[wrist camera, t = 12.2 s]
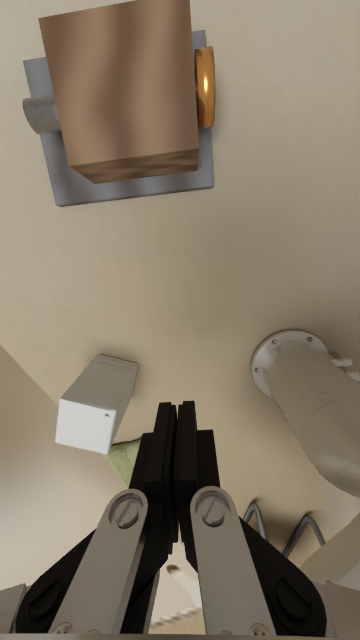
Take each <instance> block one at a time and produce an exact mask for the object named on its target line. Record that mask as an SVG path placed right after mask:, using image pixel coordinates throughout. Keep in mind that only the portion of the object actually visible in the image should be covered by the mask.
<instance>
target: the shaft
mask: <svg viewBox="0 0 360 640" xmlns="http://www.w3.org/2000/svg"><path fill="white" fill-rule="evenodd" d="M194 77H195V92H196V107H197V122H198V129H199V128H206V127H213V124H214V115H215V65H214V53H213V47H212V46H210V47H204V48H198V49H195V52H194ZM23 109H24V113H25V116H26V118H27V120H28V122H29V124H30V126H31V127H32V129H33V130H34V131H35V132H36V133H37V134H45V133H51V132H58V131H61V126H60V121H59V116H58V111H57V106H56V102H55V97H54V94H51V95H45V96H38V97H32V98H26V99H23Z"/></svg>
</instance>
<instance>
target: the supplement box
mask: <svg viewBox="0 0 360 640" xmlns="http://www.w3.org/2000/svg"><path fill="white" fill-rule="evenodd" d="M137 369H138V364H136V363H133V362H129V361H125V360H121V359H117V358H113V357H109V356H105V355H100V354H99V355H98V356H97V357H96V358H95V359H94V360H93V361H92V362H91V363H90V365H89V366H88V367H87V368H86V369H85V370H84V372H83V373H82V374H81V375H80V376H79V377H78V378H77V380H76V381H75V382H74V383H73V384H72V385H71V387H70V388H69V389H68V390H67V391H66V392H65V393H64V394H63V396H62V397H61V398H60V400H59V409H58V419H57V428H56V436H55V443H60V444H64V445H68V446H72V447H76V448H81V449H86V450H90V451H94V452H98V453H102V454H106V455H107V454H108V452H109V450H110V448H111V445H112V443H113V441H114V438H115V436H116V433H117V431H118V428H119V426H120V423H121V421H122V418H123V416H124V413H125V411H126V408H127V406H128V404H129V401H130V399H131V396H132V392H133V388H134V383H135V378H136V374H137Z"/></svg>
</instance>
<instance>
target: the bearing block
mask: <svg viewBox="0 0 360 640" xmlns="http://www.w3.org/2000/svg"><path fill="white" fill-rule="evenodd" d="M38 19H39V24H40V29H41V34H42V38H43V43H44V48H45V53H46V57H42V58H36V59H31V60H25V61H23V63H24V67H25V72H26V76H27V81H28V85H29V89H30V94H31V98H32V97H38V96H45V95H51V94H54V97H55V102H56V106H57V111H58V116H59V121H60V126H61V131H58V132H51V133H45V134H40V137H41V142H42V146H43V151H44V155H45V159H46V164H47V168H48V172H49V177H50V181H51V186H52V190H53V194H54V199H55V203H56V205H57V206H60V207H64V206H72V205H80V204H88V203H96V202H104V201H112V200H120V199H129V198H137V197H145V196H153V195H161V194H169V193H177V192H185V191H193V190H202V189H210V188H213V169H212V151H211V132H210V127H206V128H199V129H198V122H197V107H196V92H195V77H194V52H195V49H198V48H204V47H206V39H205V30H201V31H195V32H192V31H191V16H190V1H189V0H136V1H131V2H125V3H120V4H114V5H109V6H103V7H98V8H92V9H87V10H81V11H76V12H70V13H65V14H59V15H54V16H48V17H43V18H38Z"/></svg>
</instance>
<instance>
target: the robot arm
mask: <svg viewBox="0 0 360 640" xmlns="http://www.w3.org/2000/svg"><path fill="white" fill-rule="evenodd" d="M272 340H273V341H272ZM352 364H353V363H352V360H351V359H350V358H340V359H335V358H333V357H332V356H330V355H329V352H328V350H327V348H326V346H325V344H324V343H323V342H322V341H321V340H320V339H318V338H317V337H315V336H314V335H312V334H310V333H308V332H305V331H301V330H285V331H281V332H278V333H276V334H273V335H271V336H270V337H268V338H267V339H265V340H264V341H263V342H262V343H261V344H260V345H259V346H258V348H257V349H256V350H255V352H254V355H253V357H252V361H251V374H252V377H253V380H254V382H255V384H256V385H257V387H258V388H259V389H260V390H261V391H262V392H263V393H264V394H266V395H268V396H269V397H272V398H275V400H276V402H277V404H278V405H279V407H280V409H281V411H282V412H283V414H284V416H285V418H286V419H287V421H288V423H289V425H290V426H291V428H292V430H293V432H294V433H295V435H296V437H297V439H298V440H299V442H300V444H301V446H302V447H303V449H304V451H305V452H306V454H307V456H308V457H309V459H310V461H311V462H312V464H313V465H314V467H315V468H316V469H317V471H318V472H319V473H320V474H321V475H322V476H323V477H324V478H325V479H326V480H327V481H329V482H330V483H331V484H333V485H334V486H336V487H337V488H339V489H341V490H343V491H345V492H347V493H349V494H351V495H353V496H355V497H358V498H360V384H359V383H358V382H359V381H360V375H359V373H358V372H357V371H356V370H344V371H343V370H341V369H340V368H339V367H351V366H352ZM255 368H256V369H255ZM179 525H180V532H181V539H182V542H184V545H185V552H186V559H187V560H188V562H189V563H190V564H191V566H192V567H193V568H194V569H195V571H196V572H197V573H198V578H199V586H200V593H201V601H202V608H203V615H204V623H205V630H206V635H191V634H148V631H149V626H150V621H151V616H152V611H153V606H154V601H155V596H156V591H157V586H158V582H159V575H160V568H161V567H162V566H163V564H164V563H165V562H166V561H167V559H168V554H172V547H173V543H176V542H178V531H179ZM0 640H360V513H359V514H358V515H357V516H356V517H355V518H354V519H352V521H351V523H349V524H348V525H347V526H346V527H345V528H343V529H342V530H341V531H340V532H338V533H337V534H336V535H335V536H334V537H332V538H331V539H330V540H329V541H327V542H326V543H325V544H324V545H323V546H321V547H320V548H319V549H318V550H317V551H316V552H315V553H313V554H312V555H311V556H310V557H309V558H308V559H307V560H306V561H305V562H304V563H303V564H302V566H301V567H300V568H299V569H298V568H297V567H296V566H295V565H294V564H293V563H292V562H290V561H289V560H288V559H287V558H286V557H285V556H284V555H283V554H281V553H280V552H279V551H278V550H277V549H276V548H275V547H273V546H272V545H271V544H270V543H269V542H268V541H267V540H266V539H264V538H263V537H262V536H261V535H260V534H259V533H258V532H256V531H255V530H254V529H253V528H252V527H251V526H250V525H248V524H247V523H246V522H245V521H244V520H243V519H242V518H241V517H239V516H238V514H237V511H236V507H235V504H234V502H233V500H232V498H231V496H230V495H229V494H228V493H227V492H226V491H225V490H223V489H221V488H220V481H219V473H218V466H217V458H216V450H215V442H214V434H213V430H197V423H196V412H195V402H194V401H183V405H179V407H178V420H177V412H176V405H172V404H171V402H163V403H159V407H158V412H157V417H156V422H155V427H154V432H153V433H143V435H142V438H141V442H140V446H139V449H138V453H137V457H136V461H135V465H134V469H133V472H132V476H131V480H130V484H129V488H128V489H127V490H124V491H121V492H120V493H118V494H117V495H115V496H114V497H113V498H112V499H111V500H110V502H109V504H108V505H107V507H106V509H105V511H104V513H103V515H102V517H101V520H100V522H99V524H98V526H97V528H96V529H95V530H94V531H93V532H91V533H90V534H89V535H88V536H87V537H86V538H84V539H83V540H82V541H81V542H80V543H79V544H77V545H76V546H75V547H74V548H73V549H72V550H70V551H69V552H68V553H67V554H66V555H65V556H63V557H62V558H61V559H60V560H59V561H58V562H57V563H55V564H54V565H53V566H52V567H51V568H50V569H49V570H47V571H46V572H45V573H44V574H43V575H41V576H40V577H39V578H38V579H37V580H36V582H34V583H33V585H31V586H27V587H26V584H25V583H24V584H20V585H17V586H14V587H11V588H8V589H4V590H1V591H0Z"/></svg>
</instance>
